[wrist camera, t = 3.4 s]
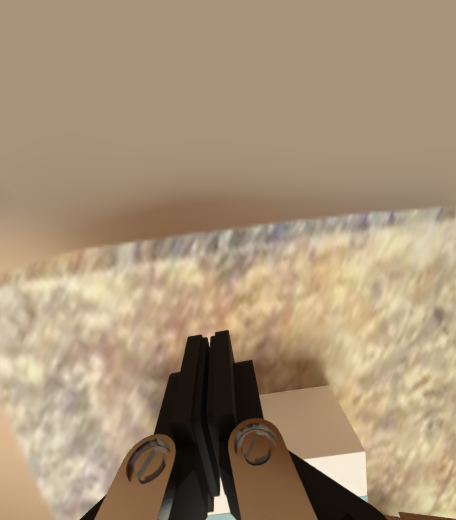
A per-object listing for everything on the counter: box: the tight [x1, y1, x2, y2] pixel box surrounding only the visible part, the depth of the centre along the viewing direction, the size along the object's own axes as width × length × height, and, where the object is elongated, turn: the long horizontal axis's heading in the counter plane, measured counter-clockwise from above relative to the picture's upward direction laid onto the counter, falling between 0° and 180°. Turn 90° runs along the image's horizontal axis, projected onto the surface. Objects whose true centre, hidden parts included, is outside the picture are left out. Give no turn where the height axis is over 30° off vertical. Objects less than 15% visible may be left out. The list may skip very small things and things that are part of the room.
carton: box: [206, 385, 368, 520], centre depth 17 cm, size 12×9×5 cm
